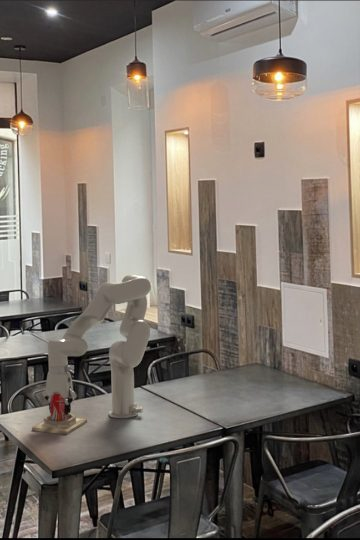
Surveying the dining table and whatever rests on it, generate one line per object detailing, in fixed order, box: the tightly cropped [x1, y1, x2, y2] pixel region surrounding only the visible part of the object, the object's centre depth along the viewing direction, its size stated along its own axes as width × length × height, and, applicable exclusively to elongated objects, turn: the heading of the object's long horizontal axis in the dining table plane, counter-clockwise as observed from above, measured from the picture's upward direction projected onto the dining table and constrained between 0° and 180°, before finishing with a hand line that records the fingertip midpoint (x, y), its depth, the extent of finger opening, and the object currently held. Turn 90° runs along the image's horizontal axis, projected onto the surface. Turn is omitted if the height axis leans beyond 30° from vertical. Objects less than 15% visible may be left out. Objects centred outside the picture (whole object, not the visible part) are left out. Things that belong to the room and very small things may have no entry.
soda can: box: [49, 392, 68, 422], centre depth 266 cm, size 7×7×12 cm
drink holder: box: [31, 412, 88, 435], centre depth 266 cm, size 16×16×4 cm
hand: (60, 412), depth 266 cm, fingers closed on soda can, 6 cm apart
